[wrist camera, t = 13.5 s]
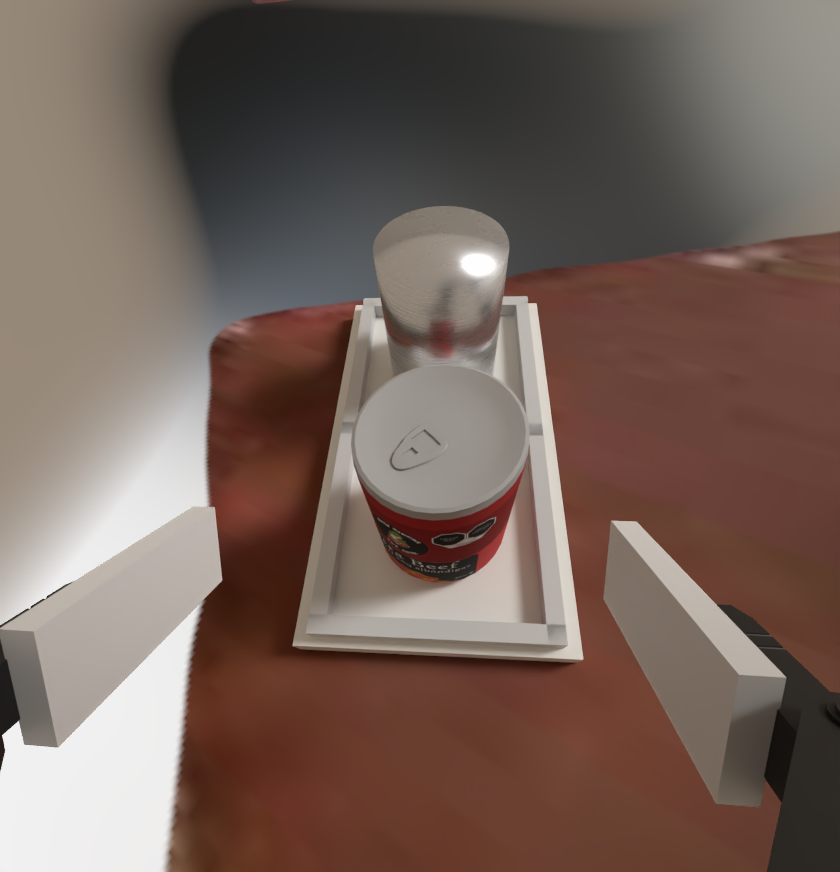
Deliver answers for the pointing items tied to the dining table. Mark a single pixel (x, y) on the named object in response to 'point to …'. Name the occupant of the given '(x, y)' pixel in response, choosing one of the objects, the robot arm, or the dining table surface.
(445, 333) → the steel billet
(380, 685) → the dining table surface
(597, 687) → the dining table surface
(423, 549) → the canned food
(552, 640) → the divided white tray
